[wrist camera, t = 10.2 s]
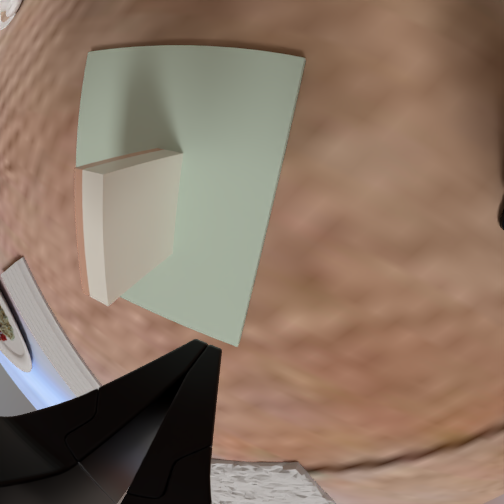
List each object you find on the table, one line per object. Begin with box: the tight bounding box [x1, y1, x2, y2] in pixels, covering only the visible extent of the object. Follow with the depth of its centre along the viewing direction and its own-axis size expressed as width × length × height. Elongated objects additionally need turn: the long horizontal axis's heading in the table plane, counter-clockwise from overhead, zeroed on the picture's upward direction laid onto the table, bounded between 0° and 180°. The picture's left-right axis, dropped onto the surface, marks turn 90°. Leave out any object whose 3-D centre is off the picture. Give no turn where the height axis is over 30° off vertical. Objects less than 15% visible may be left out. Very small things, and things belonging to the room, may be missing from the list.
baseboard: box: [1, 257, 102, 397], centre depth 34 cm, size 31×3×12 cm
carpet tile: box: [210, 459, 336, 504], centre depth 40 cm, size 39×30×2 cm
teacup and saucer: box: [0, 0, 22, 30], centre depth 14 cm, size 9×8×4 cm
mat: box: [76, 45, 306, 347], centre depth 19 cm, size 16×20×1 cm
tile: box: [74, 148, 183, 306], centre depth 16 cm, size 2×7×7 cm, turn 169°
